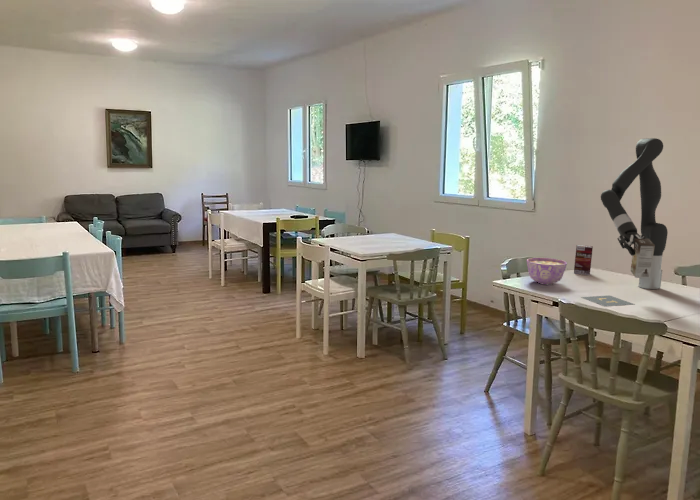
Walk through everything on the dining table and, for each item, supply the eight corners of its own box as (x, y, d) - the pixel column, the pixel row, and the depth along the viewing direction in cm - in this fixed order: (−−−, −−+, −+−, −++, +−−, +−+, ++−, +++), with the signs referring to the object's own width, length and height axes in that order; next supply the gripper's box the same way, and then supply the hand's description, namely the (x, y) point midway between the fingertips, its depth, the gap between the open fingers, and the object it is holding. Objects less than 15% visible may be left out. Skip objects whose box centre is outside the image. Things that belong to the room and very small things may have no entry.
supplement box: (573, 273, 315) (576, 246, 312) (573, 272, 319) (576, 244, 317) (590, 275, 312) (592, 247, 309) (590, 273, 316) (592, 246, 313)
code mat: (609, 295, 267) (609, 295, 267) (634, 304, 251) (634, 304, 251) (581, 297, 262) (581, 297, 262) (604, 306, 247) (604, 306, 247)
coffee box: (629, 270, 260) (634, 238, 255) (644, 271, 259) (649, 238, 254) (635, 278, 252) (639, 244, 247) (650, 278, 250) (655, 244, 245)
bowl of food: (543, 288, 278) (545, 266, 276) (516, 280, 296) (518, 258, 294) (574, 285, 286) (575, 263, 284) (546, 277, 304) (547, 256, 302)
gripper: (616, 221, 258) (633, 250, 249) (642, 220, 262) (659, 248, 253) (607, 231, 264) (623, 259, 255) (632, 229, 268) (649, 257, 259)
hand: (641, 254), depth 254 cm, fingers closed on coffee box, 7 cm apart
